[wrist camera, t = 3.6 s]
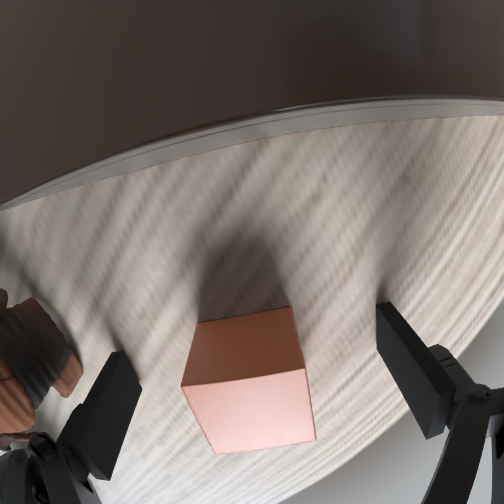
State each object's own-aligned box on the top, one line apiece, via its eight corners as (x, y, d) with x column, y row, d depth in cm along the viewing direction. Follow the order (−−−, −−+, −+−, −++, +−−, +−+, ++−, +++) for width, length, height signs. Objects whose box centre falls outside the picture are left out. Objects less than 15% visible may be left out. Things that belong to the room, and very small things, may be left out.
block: (291, 305, 14) (305, 367, 10) (303, 376, 16) (316, 440, 12) (196, 322, 15) (179, 386, 10) (221, 390, 16) (214, 454, 12)
